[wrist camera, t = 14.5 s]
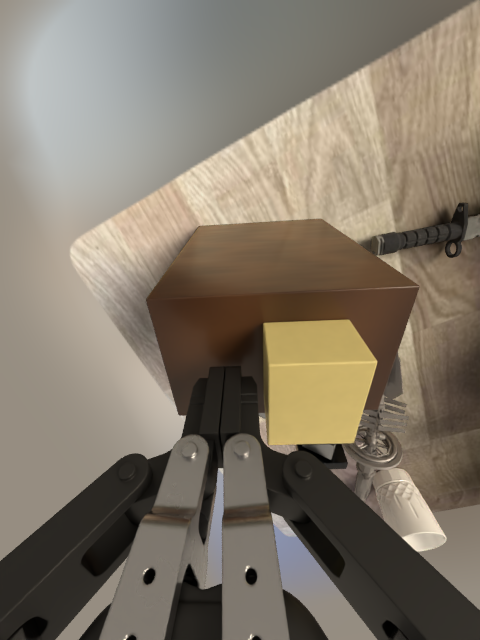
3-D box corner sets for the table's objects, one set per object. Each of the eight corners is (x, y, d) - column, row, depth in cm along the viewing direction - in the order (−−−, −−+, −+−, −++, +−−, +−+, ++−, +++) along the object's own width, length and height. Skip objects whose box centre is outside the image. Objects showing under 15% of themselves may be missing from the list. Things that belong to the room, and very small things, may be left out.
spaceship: (331, 529, 42) (385, 550, 39) (350, 352, 27) (440, 364, 24) (335, 483, 49) (382, 499, 46) (352, 320, 34) (424, 326, 31)
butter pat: (263, 396, 14) (267, 445, 12) (262, 322, 12) (267, 365, 9) (334, 394, 14) (354, 444, 12) (349, 318, 12) (378, 361, 9)
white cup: (365, 470, 48) (391, 536, 39) (409, 461, 46) (447, 529, 37) (370, 489, 51) (395, 554, 43) (411, 482, 50) (446, 548, 41)
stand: (208, 298, 29) (178, 416, 15) (198, 225, 25) (144, 299, 11) (314, 293, 29) (378, 410, 15) (321, 218, 24) (421, 285, 11)
